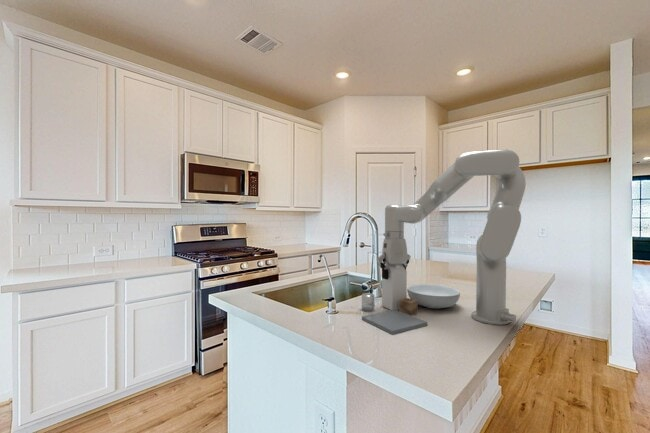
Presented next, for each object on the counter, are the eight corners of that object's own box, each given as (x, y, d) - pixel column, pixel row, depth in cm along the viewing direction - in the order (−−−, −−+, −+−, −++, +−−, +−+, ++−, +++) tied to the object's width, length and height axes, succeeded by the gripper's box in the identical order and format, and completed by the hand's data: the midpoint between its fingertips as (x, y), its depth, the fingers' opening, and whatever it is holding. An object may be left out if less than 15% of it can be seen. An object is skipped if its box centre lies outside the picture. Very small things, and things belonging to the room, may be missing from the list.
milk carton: (381, 306, 130) (381, 260, 129) (395, 304, 133) (395, 259, 132) (392, 311, 123) (392, 263, 123) (406, 308, 126) (406, 261, 126)
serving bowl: (465, 315, 119) (465, 297, 118) (408, 311, 123) (408, 294, 123) (454, 300, 139) (454, 284, 139) (405, 297, 143) (405, 282, 143)
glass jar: (376, 310, 124) (377, 295, 124) (366, 312, 122) (366, 297, 122) (369, 307, 128) (369, 292, 128) (359, 309, 126) (359, 294, 126)
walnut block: (417, 313, 121) (417, 300, 121) (410, 316, 118) (410, 303, 117) (405, 310, 125) (405, 297, 125) (399, 313, 121) (399, 300, 121)
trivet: (427, 325, 108) (427, 322, 108) (392, 334, 100) (392, 330, 100) (395, 312, 122) (395, 309, 122) (362, 319, 114) (362, 316, 114)
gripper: (384, 237, 120) (383, 281, 120) (416, 235, 129) (416, 276, 129) (371, 235, 126) (371, 278, 127) (403, 234, 135) (403, 273, 135)
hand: (394, 277), depth 128 cm, fingers open, 9 cm apart
